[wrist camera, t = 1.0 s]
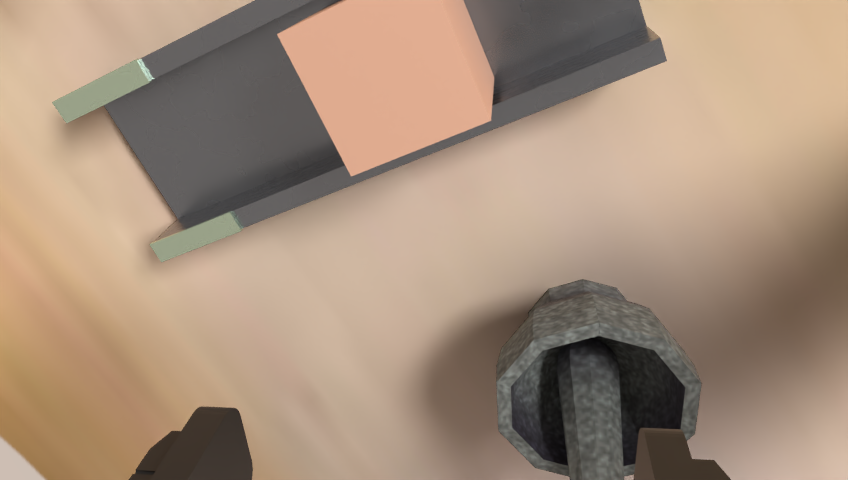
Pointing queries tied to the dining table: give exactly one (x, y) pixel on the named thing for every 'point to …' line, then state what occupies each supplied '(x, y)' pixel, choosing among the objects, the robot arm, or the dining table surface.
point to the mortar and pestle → (591, 382)
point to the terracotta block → (391, 75)
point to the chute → (297, 116)
